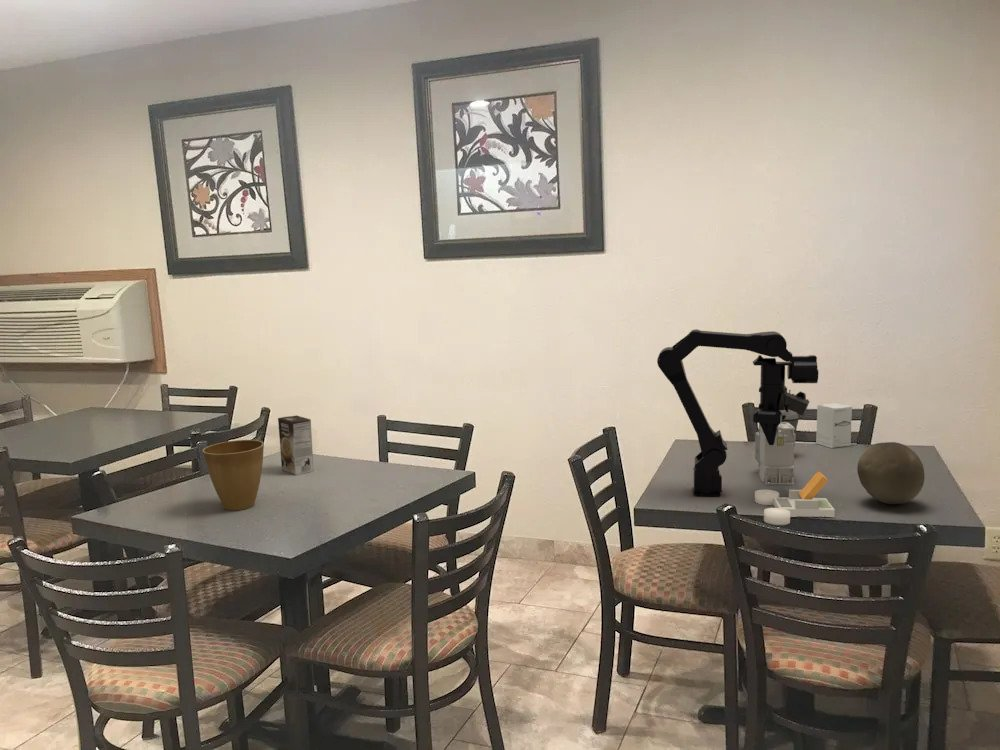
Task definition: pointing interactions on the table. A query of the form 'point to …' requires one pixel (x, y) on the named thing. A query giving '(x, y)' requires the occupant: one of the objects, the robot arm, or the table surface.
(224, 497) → the plant pot
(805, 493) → the long orange brick
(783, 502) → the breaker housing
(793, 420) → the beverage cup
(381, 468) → the table surface
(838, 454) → the table surface
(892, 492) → the cantaloupe
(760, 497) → the cream dome knob
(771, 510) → the cream round disc
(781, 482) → the circuit breaker
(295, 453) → the coffee box
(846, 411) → the supplement box
